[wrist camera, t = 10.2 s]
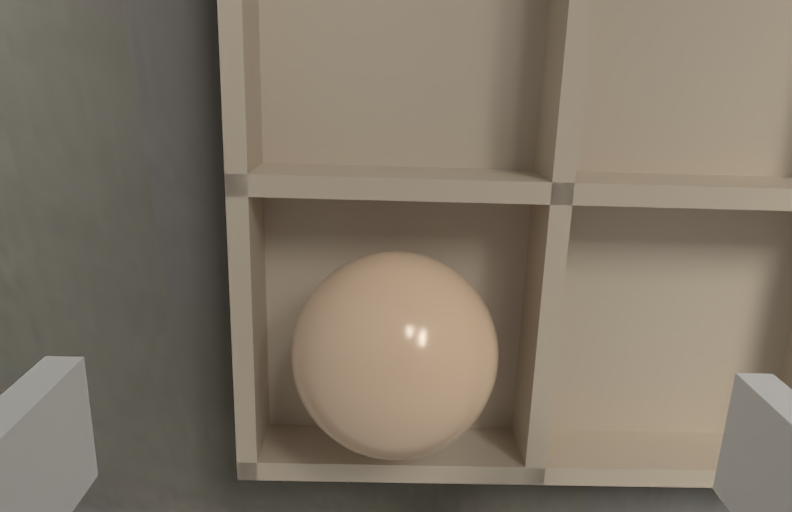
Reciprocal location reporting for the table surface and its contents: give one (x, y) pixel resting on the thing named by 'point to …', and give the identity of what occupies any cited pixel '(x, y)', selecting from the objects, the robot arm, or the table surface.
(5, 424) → the robot arm
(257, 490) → the table surface
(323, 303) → the egg
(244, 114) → the carton
